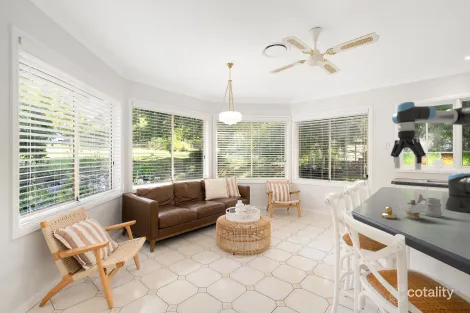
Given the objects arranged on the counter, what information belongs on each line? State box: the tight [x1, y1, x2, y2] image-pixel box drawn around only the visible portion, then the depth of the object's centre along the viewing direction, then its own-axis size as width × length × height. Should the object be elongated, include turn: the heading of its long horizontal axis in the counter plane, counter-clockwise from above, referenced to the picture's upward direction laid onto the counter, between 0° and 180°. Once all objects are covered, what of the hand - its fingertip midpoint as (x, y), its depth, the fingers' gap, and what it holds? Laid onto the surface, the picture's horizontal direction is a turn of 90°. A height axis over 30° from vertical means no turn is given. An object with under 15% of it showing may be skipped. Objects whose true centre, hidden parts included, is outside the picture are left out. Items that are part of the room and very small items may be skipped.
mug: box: [416, 193, 443, 218], centre depth 136 cm, size 8×12×12 cm, turn 44°
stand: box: [405, 199, 421, 220], centre depth 130 cm, size 6×6×10 cm
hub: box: [381, 206, 398, 220], centre depth 132 cm, size 7×7×6 cm
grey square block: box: [398, 201, 427, 214], centre depth 130 cm, size 9×9×4 cm
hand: (407, 169), depth 127 cm, fingers open, 13 cm apart
